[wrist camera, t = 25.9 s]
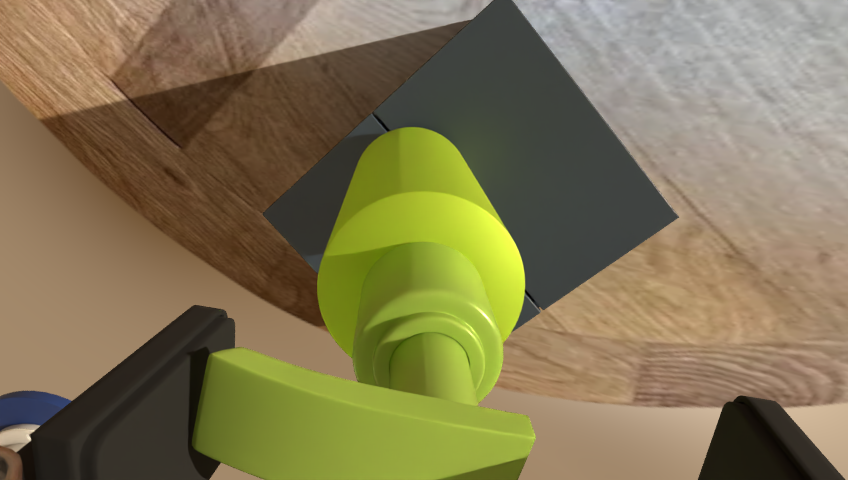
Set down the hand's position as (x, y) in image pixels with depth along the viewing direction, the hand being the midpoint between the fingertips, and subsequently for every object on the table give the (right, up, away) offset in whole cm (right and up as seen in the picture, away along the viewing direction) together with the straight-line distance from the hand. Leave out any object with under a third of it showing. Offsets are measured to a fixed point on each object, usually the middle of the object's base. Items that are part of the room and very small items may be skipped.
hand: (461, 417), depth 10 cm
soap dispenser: (-2, +6, +17) cm, 19 cm away
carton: (+3, +8, +29) cm, 30 cm away
